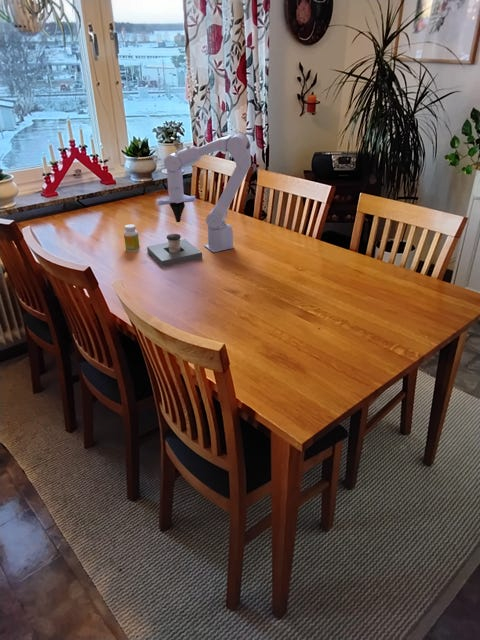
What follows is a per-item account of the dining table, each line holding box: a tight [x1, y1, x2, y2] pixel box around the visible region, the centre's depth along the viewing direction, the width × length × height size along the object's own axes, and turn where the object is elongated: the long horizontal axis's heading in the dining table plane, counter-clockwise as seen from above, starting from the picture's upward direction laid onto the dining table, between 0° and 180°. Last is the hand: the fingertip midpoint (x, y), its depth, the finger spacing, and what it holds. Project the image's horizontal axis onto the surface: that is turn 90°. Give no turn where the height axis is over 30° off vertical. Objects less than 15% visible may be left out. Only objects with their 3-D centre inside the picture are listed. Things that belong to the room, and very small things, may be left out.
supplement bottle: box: [123, 223, 140, 253], centre depth 187 cm, size 5×5×10 cm
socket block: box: [146, 238, 203, 268], centre depth 183 cm, size 16×16×2 cm
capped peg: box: [166, 233, 181, 254], centre depth 182 cm, size 5×5×8 cm
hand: (178, 221), depth 188 cm, fingers closed
